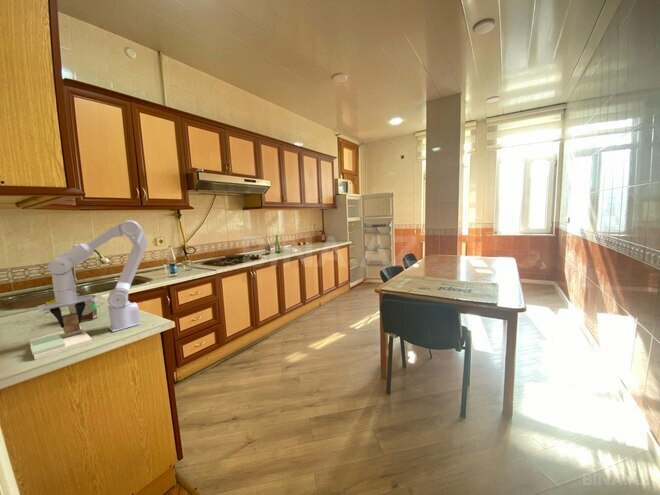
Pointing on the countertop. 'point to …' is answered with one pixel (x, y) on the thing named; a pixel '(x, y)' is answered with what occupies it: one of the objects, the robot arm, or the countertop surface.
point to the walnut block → (70, 323)
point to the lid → (46, 344)
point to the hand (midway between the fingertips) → (70, 324)
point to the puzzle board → (69, 342)
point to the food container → (87, 309)
